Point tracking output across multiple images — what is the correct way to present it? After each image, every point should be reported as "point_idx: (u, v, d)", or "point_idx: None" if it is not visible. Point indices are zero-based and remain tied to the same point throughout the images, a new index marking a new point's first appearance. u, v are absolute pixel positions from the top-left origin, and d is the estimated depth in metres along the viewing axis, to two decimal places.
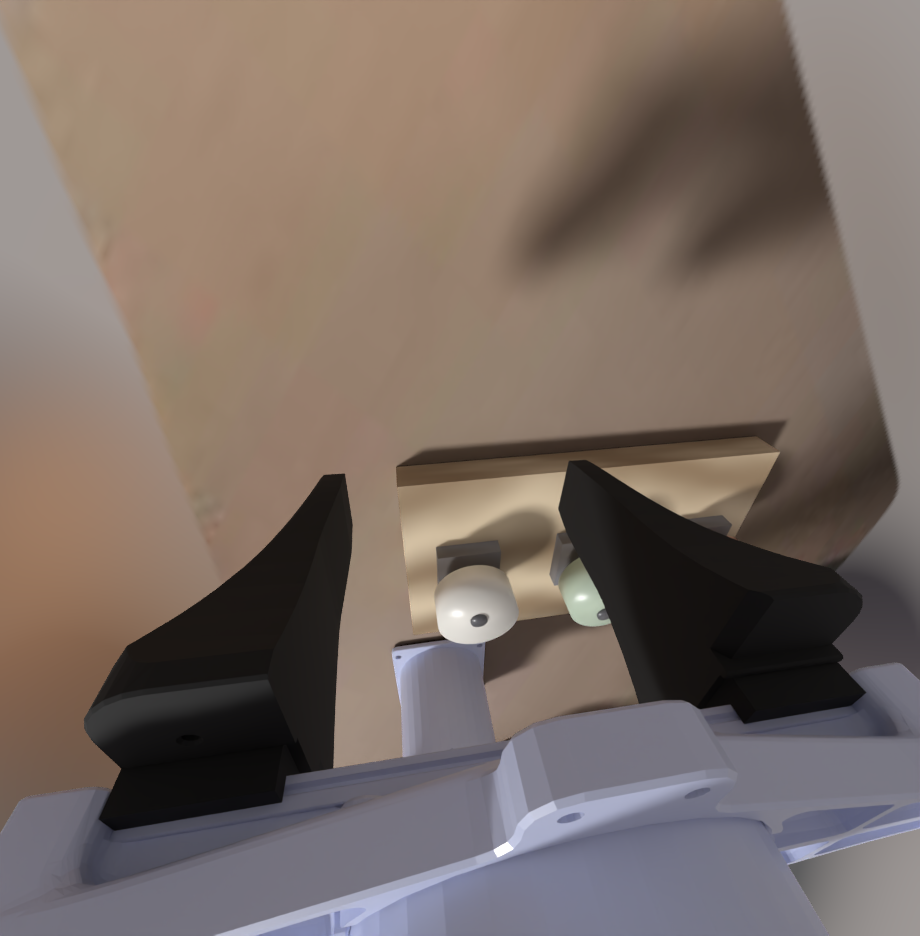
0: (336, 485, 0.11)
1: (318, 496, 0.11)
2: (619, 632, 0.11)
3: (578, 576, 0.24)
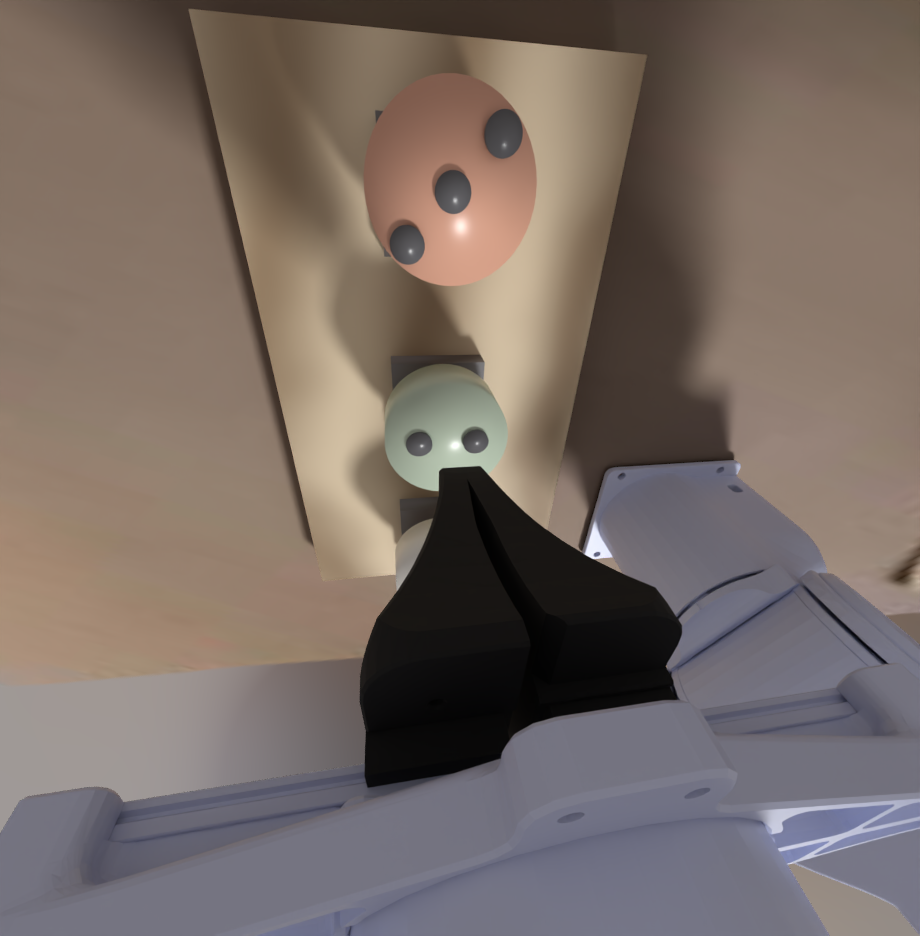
0: (462, 477, 0.12)
1: (451, 487, 0.11)
2: None
3: None
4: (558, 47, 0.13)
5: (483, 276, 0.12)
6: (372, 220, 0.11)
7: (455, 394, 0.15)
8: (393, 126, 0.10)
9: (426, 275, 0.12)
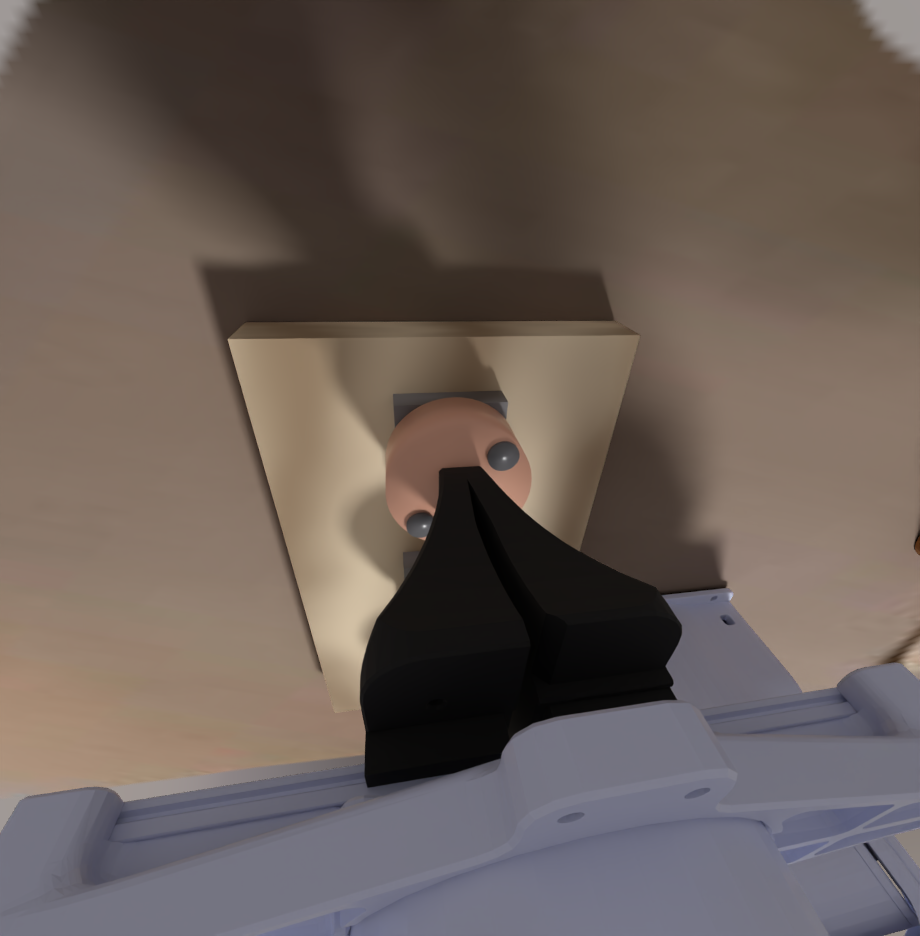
0: (462, 477, 0.12)
1: (451, 487, 0.11)
2: None
3: None
4: (559, 335, 0.14)
5: None
6: (392, 513, 0.13)
7: None
8: (411, 459, 0.12)
9: None
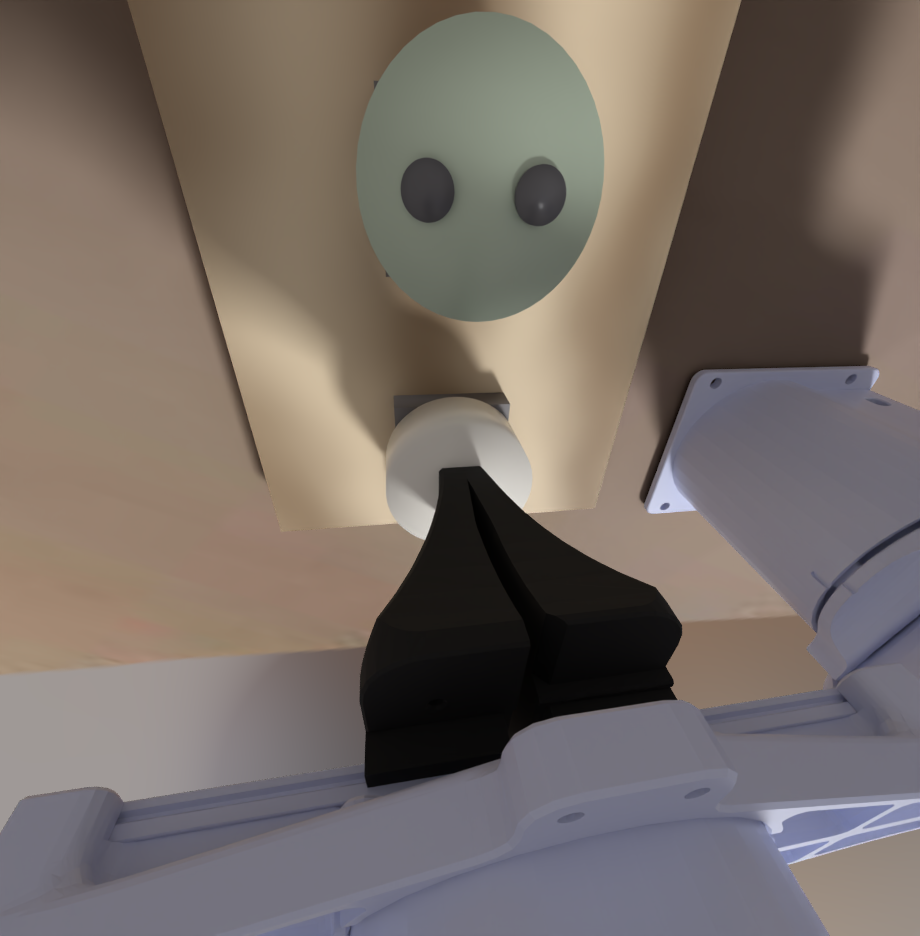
0: (462, 477, 0.12)
1: (451, 487, 0.11)
2: None
3: None
4: None
5: None
6: None
7: (507, 50, 0.07)
8: None
9: None
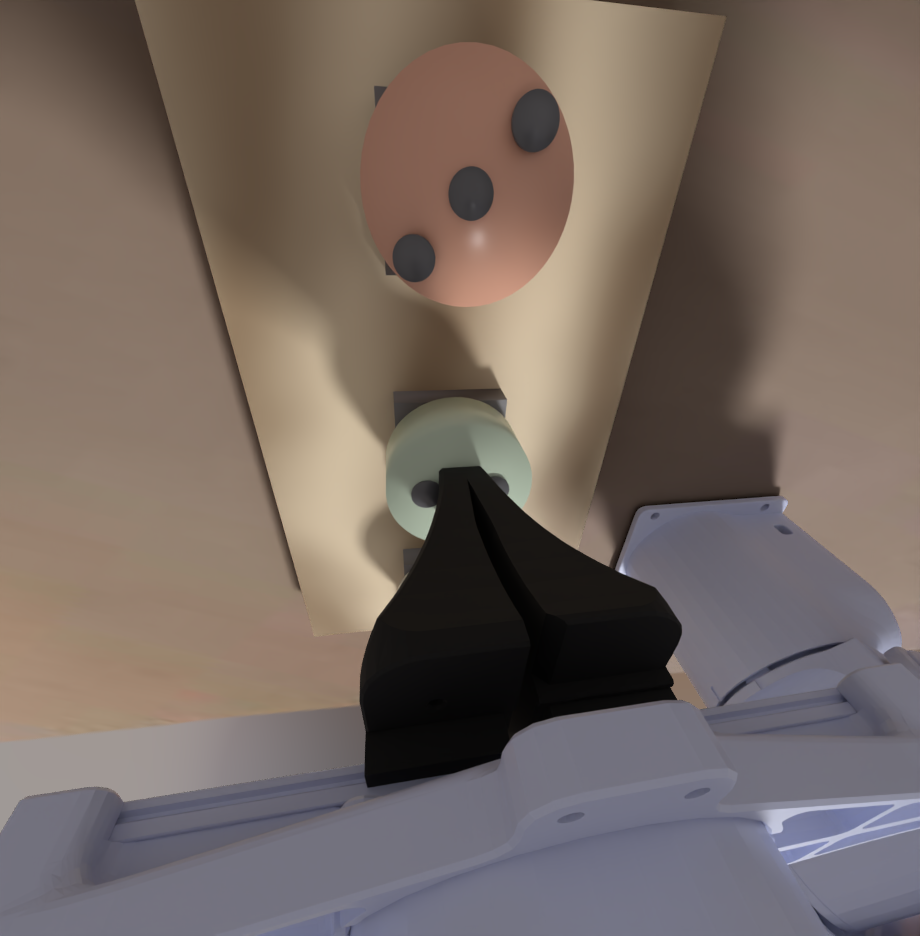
0: (462, 477, 0.12)
1: (451, 487, 0.11)
2: None
3: None
4: (613, 4, 0.10)
5: (505, 295, 0.10)
6: (371, 228, 0.09)
7: (471, 437, 0.12)
8: (397, 110, 0.08)
9: (436, 294, 0.10)
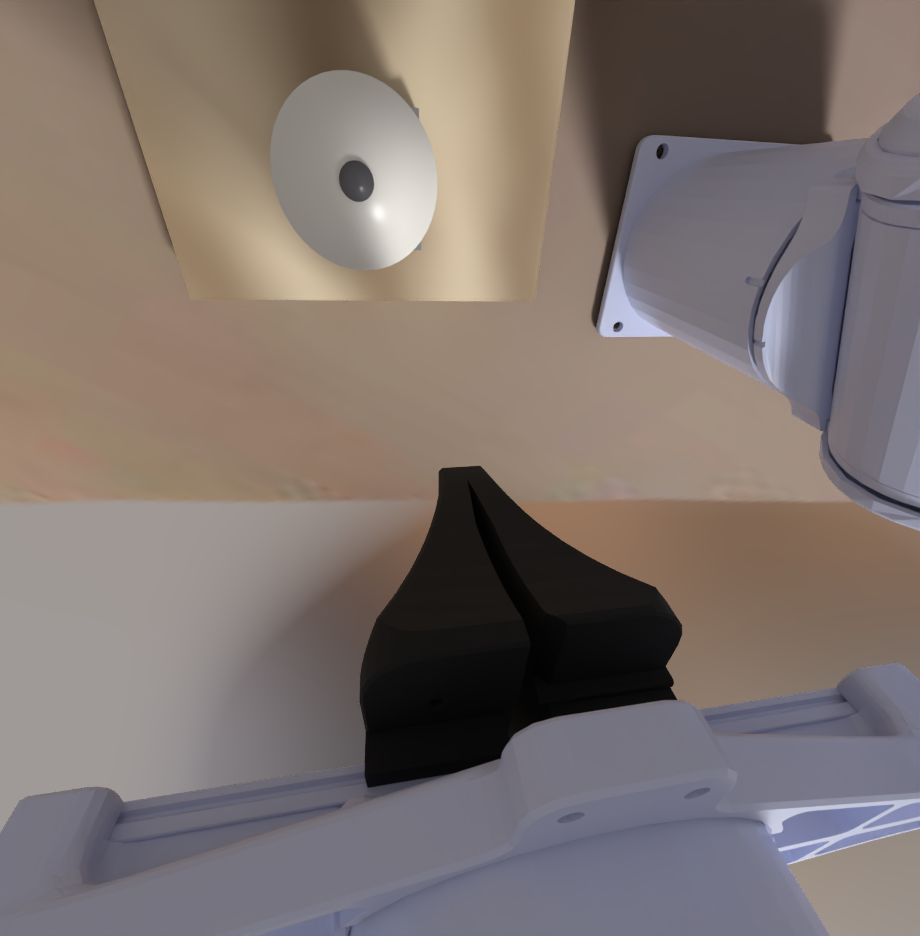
0: (462, 477, 0.12)
1: (451, 487, 0.11)
2: None
3: None
4: None
5: None
6: None
7: None
8: None
9: None
